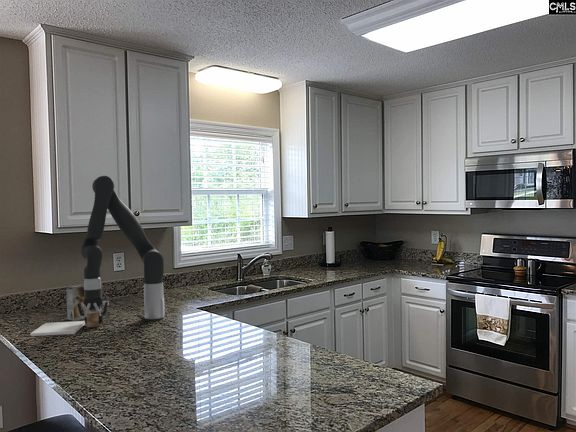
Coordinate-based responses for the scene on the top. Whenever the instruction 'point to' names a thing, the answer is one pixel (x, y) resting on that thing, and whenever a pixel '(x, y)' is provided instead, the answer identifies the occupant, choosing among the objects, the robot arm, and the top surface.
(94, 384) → the top surface
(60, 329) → the cutting board
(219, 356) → the top surface
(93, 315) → the brown short block
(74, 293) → the coffee box
